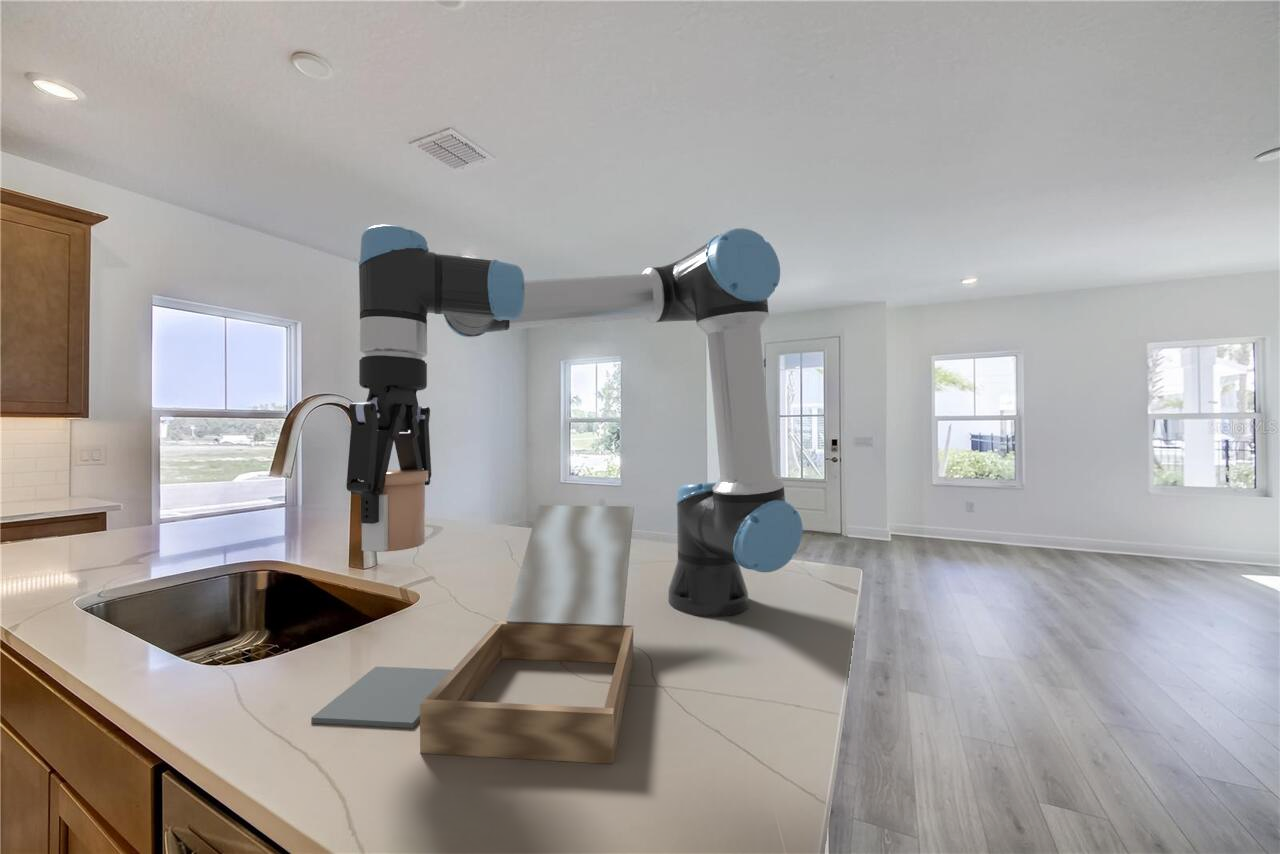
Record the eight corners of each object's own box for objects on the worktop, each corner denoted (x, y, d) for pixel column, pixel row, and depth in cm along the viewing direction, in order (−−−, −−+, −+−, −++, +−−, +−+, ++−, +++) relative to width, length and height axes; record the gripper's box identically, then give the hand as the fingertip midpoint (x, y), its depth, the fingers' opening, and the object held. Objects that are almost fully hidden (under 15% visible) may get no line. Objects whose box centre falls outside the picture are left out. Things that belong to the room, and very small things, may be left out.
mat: (460, 674, 68) (460, 670, 68) (412, 728, 56) (412, 722, 56) (375, 670, 69) (375, 666, 69) (311, 722, 57) (311, 717, 57)
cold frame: (642, 616, 88) (642, 506, 88) (612, 763, 50) (612, 569, 50) (531, 612, 90) (531, 504, 90) (420, 753, 51) (419, 564, 51)
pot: (439, 538, 66) (439, 469, 66) (407, 553, 58) (407, 475, 58) (382, 537, 66) (382, 469, 66) (343, 551, 58) (343, 474, 58)
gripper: (408, 367, 72) (407, 525, 72) (305, 344, 52) (305, 563, 52) (458, 366, 72) (458, 526, 72) (374, 344, 52) (373, 565, 52)
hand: (393, 542), depth 62 cm, fingers closed on pot, 7 cm apart
